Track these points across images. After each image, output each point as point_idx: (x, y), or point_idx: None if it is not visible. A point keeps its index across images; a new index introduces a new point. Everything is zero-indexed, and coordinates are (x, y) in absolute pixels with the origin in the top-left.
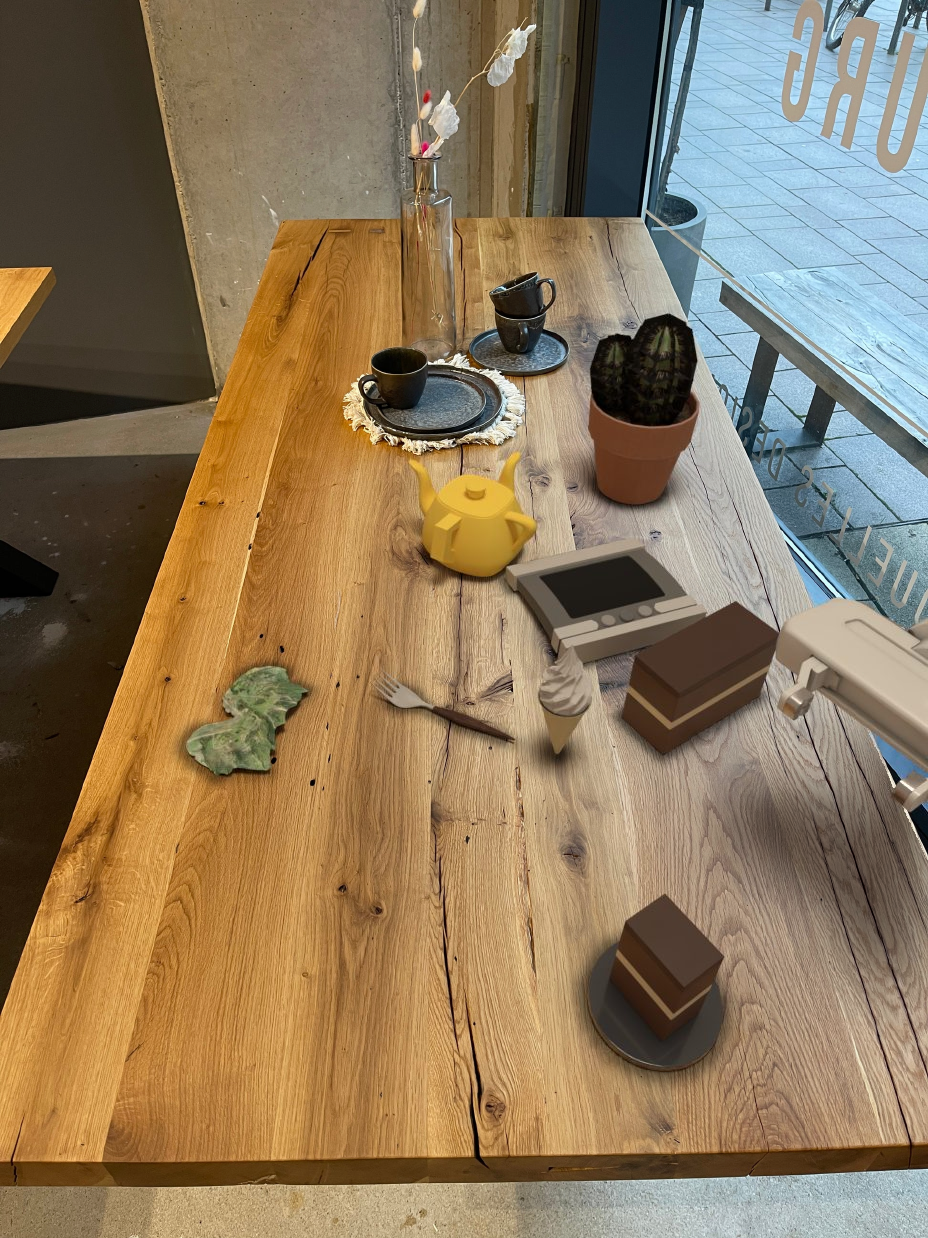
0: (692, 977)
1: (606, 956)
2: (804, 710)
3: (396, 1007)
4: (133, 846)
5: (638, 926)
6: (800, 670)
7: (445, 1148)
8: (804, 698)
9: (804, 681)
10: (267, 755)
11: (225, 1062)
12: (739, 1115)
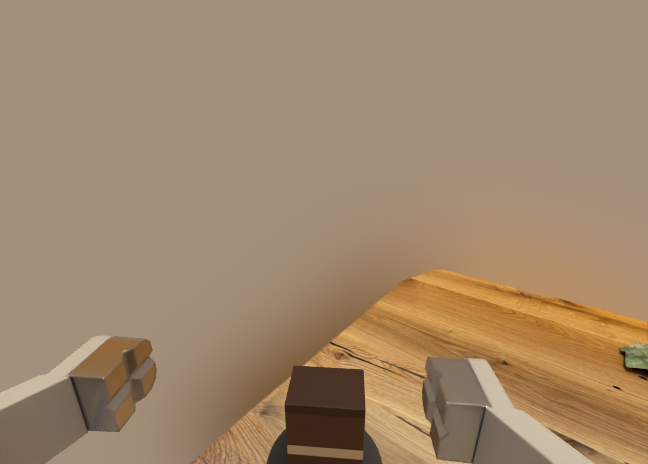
0: (294, 373)
1: (376, 458)
2: (432, 419)
3: (413, 349)
4: (554, 310)
5: (353, 372)
6: (582, 455)
7: (339, 335)
8: (444, 374)
9: (517, 426)
10: (642, 367)
11: (421, 302)
12: (224, 455)
